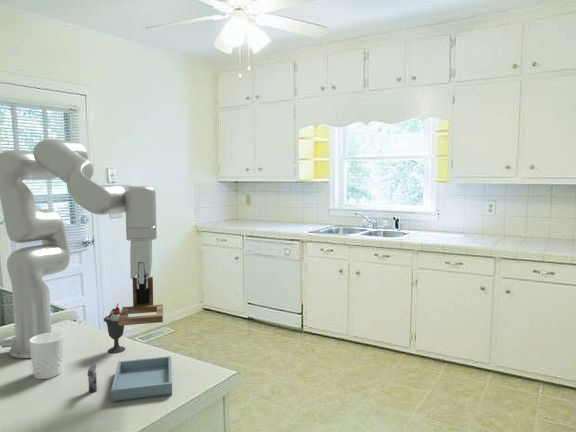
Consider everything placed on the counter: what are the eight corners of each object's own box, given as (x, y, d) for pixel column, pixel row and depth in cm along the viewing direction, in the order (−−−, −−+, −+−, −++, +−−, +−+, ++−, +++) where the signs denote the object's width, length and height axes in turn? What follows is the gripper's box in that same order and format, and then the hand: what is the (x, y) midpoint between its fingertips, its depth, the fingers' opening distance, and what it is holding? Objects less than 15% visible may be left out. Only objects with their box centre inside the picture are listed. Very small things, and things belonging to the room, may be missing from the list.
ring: (123, 309, 114) (122, 278, 114) (163, 307, 117) (162, 276, 116) (118, 325, 102) (117, 290, 102) (162, 322, 105) (162, 287, 104)
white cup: (71, 369, 119) (69, 334, 118) (46, 382, 111) (45, 345, 110) (49, 365, 121) (47, 330, 120) (24, 377, 114) (22, 341, 113)
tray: (111, 402, 102) (111, 390, 102) (118, 372, 118) (118, 361, 117) (172, 395, 106) (171, 383, 105) (171, 366, 121) (171, 356, 121)
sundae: (120, 355, 128) (118, 306, 127) (100, 353, 130) (98, 304, 128) (132, 346, 135) (131, 299, 133) (113, 344, 136) (111, 298, 135)
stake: (87, 396, 105) (86, 371, 104) (90, 386, 110) (89, 362, 109) (95, 395, 105) (94, 370, 105) (98, 385, 110) (97, 362, 109)
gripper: (128, 230, 120) (130, 295, 121) (123, 238, 105) (125, 312, 106) (157, 229, 122) (158, 293, 123) (155, 237, 107) (157, 309, 108)
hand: (143, 301), depth 115 cm, fingers closed on ring, 1 cm apart
